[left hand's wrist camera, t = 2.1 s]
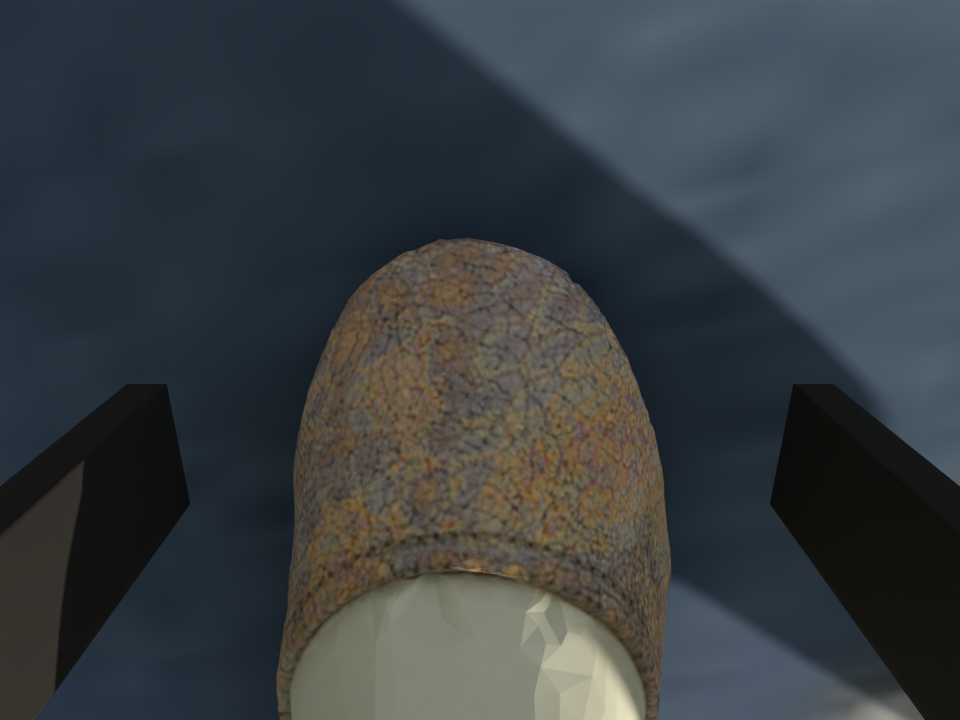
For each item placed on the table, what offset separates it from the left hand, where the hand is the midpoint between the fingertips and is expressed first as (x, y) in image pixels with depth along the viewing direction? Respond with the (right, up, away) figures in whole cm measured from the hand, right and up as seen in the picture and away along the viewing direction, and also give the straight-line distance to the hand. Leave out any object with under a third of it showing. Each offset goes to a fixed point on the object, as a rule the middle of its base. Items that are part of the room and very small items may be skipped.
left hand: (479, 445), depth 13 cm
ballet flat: (0, -7, +5) cm, 8 cm away
